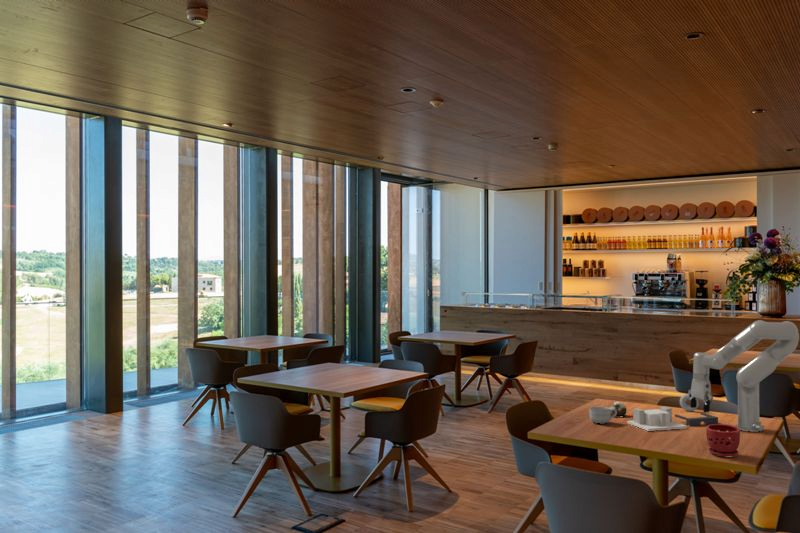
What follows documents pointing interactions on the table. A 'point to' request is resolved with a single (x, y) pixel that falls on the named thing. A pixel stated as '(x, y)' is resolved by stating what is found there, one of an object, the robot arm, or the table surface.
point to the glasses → (700, 420)
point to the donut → (684, 405)
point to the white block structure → (655, 419)
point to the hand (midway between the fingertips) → (699, 409)
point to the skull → (618, 409)
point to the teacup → (601, 414)
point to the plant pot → (723, 439)
